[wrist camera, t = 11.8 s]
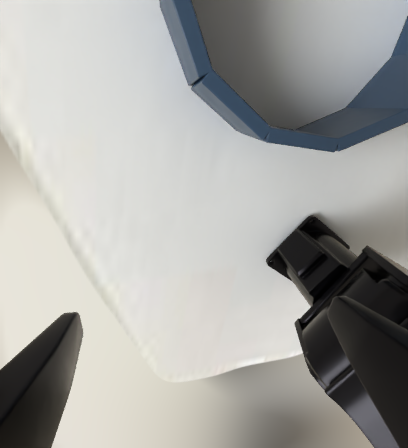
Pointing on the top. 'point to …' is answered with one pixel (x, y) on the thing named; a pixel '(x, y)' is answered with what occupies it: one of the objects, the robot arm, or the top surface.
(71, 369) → the robot arm
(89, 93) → the top surface
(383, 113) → the blue round bin
